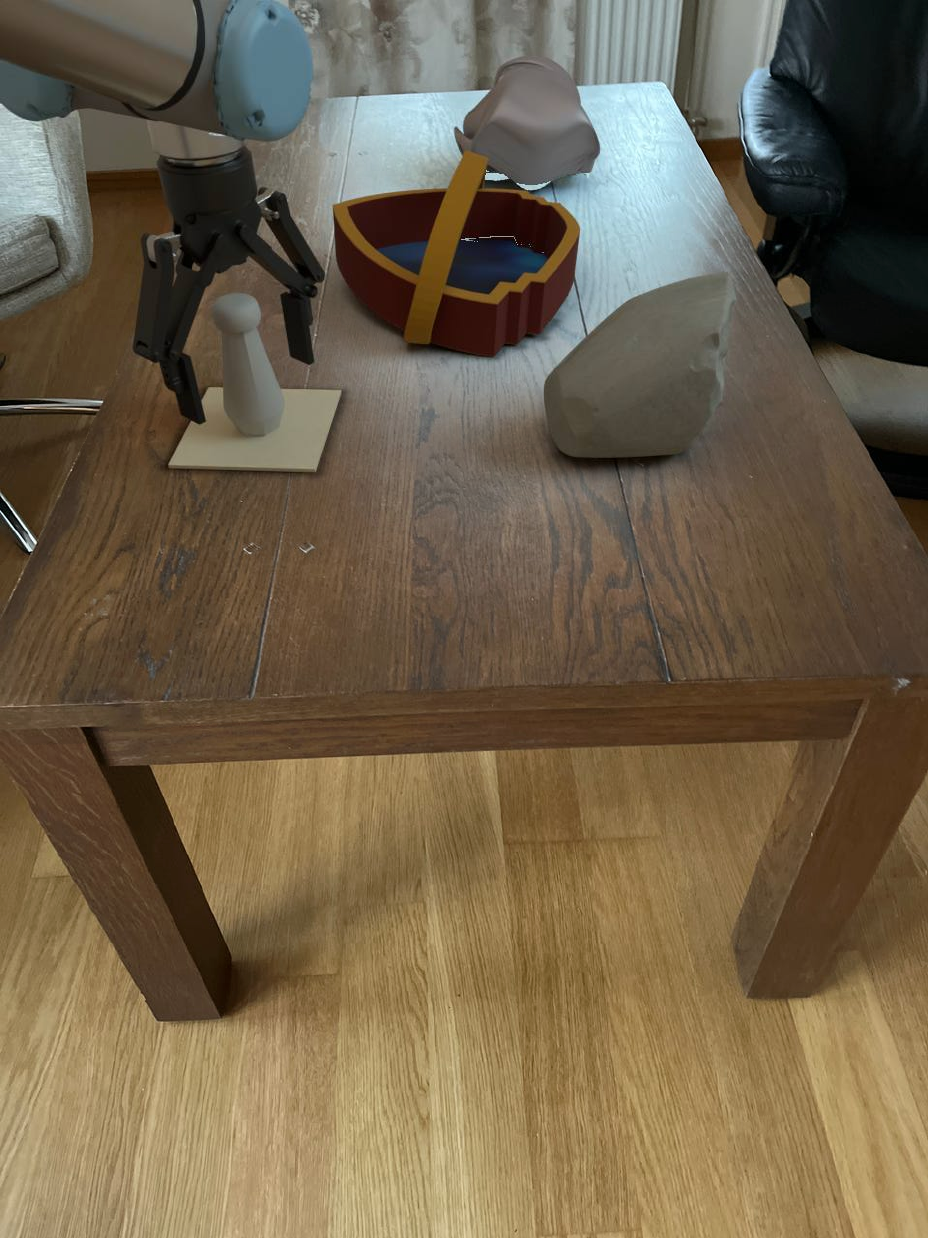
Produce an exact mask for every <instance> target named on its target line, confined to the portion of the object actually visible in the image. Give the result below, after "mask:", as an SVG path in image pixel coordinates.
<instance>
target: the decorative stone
mask: <svg viewBox="0 0 928 1238" xmlns="http://www.w3.org/2000/svg"><path fill="white" fill-rule="evenodd" d="M736 303H737V297H736V290H735V288H734V276H733V275H732V274H731V273H730V272H728V271H727V272H726V271H725V272H719V273H711V274H705V275H698V276H692V277H689V278H685V279H682V280H678V281H675V282H672V283H669V284H665V285H663V286H662V285H661V286H659V287H656V288H654V289H651V290H649V291H646V292H643V293H641V294H638V295H636V296H633V297H632V298H630V299H628V300H626V301H625V302H623V303H622V304H621V305H620V306H618V307H617V308H616V309H615V310H614V311H612V312H611V313H610V314H609V315H608V316H607V317H605V319H603V320H602V321H601V322H600V323H599V324H598V325H597V326H596V327H594V329H592V331H590V332H589V333H588V334H587V335H586V336H585V337H584V338H583V339H582V340H580V342H579V343H578V344H577V345H576V346H575V347H574V348H573V349H572V350H571V351H570V352H569V353H568V354H566V356H565V357H564V358H563V359H562V360H561V361H560V362H559V363H558V364H557V365H556V366H555V367H554V369H552V370H551V372H550V373H549V374H548V375H547V377H546V378H545V380H544V384H543V404H544V405H543V406H544V413H545V418H546V422H547V427H548V430H549V433H550V436H551V438H552V440H553V442H554V443H555V444H554V445H556V448H558V450H559V451H561V452H562V453H563V454H565V455H566V456H570V457H573V458H594V459H595V458H598V459H599V458H601V459H602V458H603V459H605V458H606V459H608V458H609V459H610V458H635V457H654V456H655V457H656V456H669V455H671V456H672V455H679V454H681V453H683V451H685V450H686V449H687V448H688V447H689V446H690V445H691V444H692V443H693V442H694V441H695V440H696V439H697V438H698V437H699V436H700V435H701V433H702V431H703V430H704V428H705V427H706V426H707V424H708V422H709V420H710V419H711V418H712V416H713V415H714V412H715V411H717V409H718V408H720V407H721V406H723V405H724V401H723V391H724V387H725V377H724V371H723V367H724V358H725V357H726V356H727V355H728V340H729V339H728V338H729V332H730V326H731V322H732V319H733V316H734V312H735V305H736Z"/></svg>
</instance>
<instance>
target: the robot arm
mask: <svg viewBox="0 0 928 1238" xmlns="http://www.w3.org/2000/svg"><path fill="white" fill-rule="evenodd" d="M313 80H314V61H313V53H312V49H311V44H310V40H309V38H308V35H307V32H306V30H305V29H304V25H303V24H302V23H301V21H300V19H299V18H298V17H297V16H296V14H295V12H293V11H292V10H291V9H290V8H289V7H288V6H286V5H285V4H284V3H281V2H280V1H278V0H0V104H1V105H2V106H3V107H4V108H5V109H6V110H8V111H9V112H10V113H11V114H13V115H14V116H17V117H18V118H20V119H22V120H25V121H28V122H42V121H47V120H50V119H54V118H60V119H65V118H67V117H68V115H71V113H73V112H75V111H78V110H83V109H84V110H85V109H86V110H87V109H88V110H89V109H91V110H97V111H101V112H106V113H111V114H115V115H120V116H121V115H122V116H126V117H131V118H137V119H141V120H146V125H147V129H148V134H149V138H150V143H151V147H152V150H153V151H154V153H156V154H158V155H159V157H158V159H157V161H156V167H157V170H158V175H159V176H158V177H159V181H160V184H161V188H162V193H163V197H164V201H165V204H166V205H167V207H168V210H169V212H170V215H171V217H172V225H171V226H172V227H171V231H169V232H165V233H161V234H158V235H156V234H153V233H151V232H144V233H142V235H141V237H140V246H141V251H142V252H141V253H142V259H143V268H142V276H141V283H140V291H139V299H138V305H137V312H136V320H135V321H136V322H135V326H134V327H135V328H134V335H133V343H132V351H133V353H134V354H136V355H138V356H139V357H142V358H144V359H146V360H148V361H149V362H152V363H154V364H157V363H158V364H159V367H160V371H161V375H162V379H163V383H164V386H165V387H166V388H167V389H168V390H169V391H171V392H173V393H174V394H175V398H176V402H177V406H178V409H179V413H180V416H182V417H183V418H185V419H187V420H189V421H190V422H191V421H193V422H195V423H197V424H199V425H201V424H203V423H204V422H206V419H205V414H204V410H203V406H202V402H201V401H202V398H201V394H200V389H199V386H198V381H197V377H196V373H195V369H194V364H193V361H192V356H190V355H189V354H187V353H184V352H183V351H184V349H185V346H186V343H187V341H188V337H189V335H190V333H191V329H192V327H193V324H194V321H195V318H196V316H197V313H198V311H199V308H200V305H201V302H202V299H203V296H204V294H205V291H206V288H208V287H210V286H211V285H212V283H213V281H214V278H215V275H216V274H218V275H221V274H223V273H225V272H227V271H229V269H231V268H232V267H233V266H241V265H243V264H246V263H247V262H248V258H249V257H250V258H251V260H253V261H254V262H255V263H257V264H258V265H259V266H260V267H261V268H262V269H264V270H265V272H267V273H268V274H269V275H270V276H272V277H273V278H274V280H276V281H277V282H279V283H280V284H281V285H282V286H283V287H285V288H286V289H287V290H289V292H288V291H284V292H282V293H280V294H279V296H280V302H281V308H282V315H283V321H284V322H283V323H284V328H285V334H286V339H287V345H288V346H287V347H288V352H289V357H290V358H291V359H294V360H296V361H299V362H300V363H303V364H305V365H308V366H310V365H312V364H314V363H315V355H314V350H313V349H314V348H313V342H312V335H311V328H310V327H311V326H312V325H313V323H314V316H313V315H314V314H313V309H312V300H311V299H315V298H317V296H318V293H319V289H318V287H317V286H316V284H317V283H318V284H321V283H323V282H324V280H325V278H326V272H325V271H324V269H323V267H322V266H321V264H320V262H319V260H318V259H317V257H316V255H315V254H314V252H313V250H312V249H311V247H310V246H309V244H308V242H307V240H306V239H305V237H304V235H303V234H302V232H301V231H300V229H299V227H298V225H297V224H296V222H295V220H294V219H293V217H292V215H291V210H290V207H289V202H288V198H287V195H286V194H285V193H284V192H282V191H278V190H275V189H272V188H269V187H266V186H261V187H260V188H258V183H257V178H256V171H255V165H254V160H253V159H254V158H253V153H252V151H251V150H250V149H249V148H248V147H247V146H246V145H247V144H248V142H249V140H250V141H259V142H267V143H269V142H277V141H279V140H282V139H284V138H286V137H287V136H290V134H292V133H294V131H296V129H297V128H298V126H299V125H300V124H301V122H302V121H303V119H304V117H305V115H306V112H307V110H308V107H309V104H310V101H311V91H312V83H313ZM262 218H263V219H264V221H265V223H266V225H267V226H268V228H269V229H270V231H271V232H272V234H273V235H274V237H275V239H276V240H277V242H278V243H279V245H280V246H281V248H282V250H283V251H284V253H285V254H286V256H287V257H288V259H289V261H290V262H291V264H292V266H293V267H292V266H291V265H290V264H289V263H288V262H286V260H284V259H283V258H282V257H281V256H280V255H279V254H278V253H276V251H275V250H273V247H272V246H271V245H270V244H269V243H268V242H266V240H265V239H264V238H262V237H261V236H260V235H259V234H258V230H259V227H260V223H261V220H262ZM178 250H180V253H179V255H178V254H177V253H178ZM175 263H176V265H175ZM194 264H195V265H196V266H198V267H199V270H195V269H193V266H194ZM175 273H176V275H175Z"/></svg>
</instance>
